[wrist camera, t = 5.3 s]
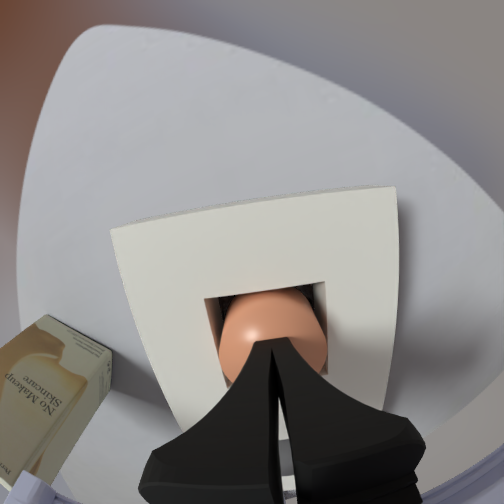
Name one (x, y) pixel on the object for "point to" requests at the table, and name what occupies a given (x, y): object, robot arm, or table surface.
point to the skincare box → (47, 397)
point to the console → (265, 286)
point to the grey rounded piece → (285, 458)
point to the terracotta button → (270, 327)
